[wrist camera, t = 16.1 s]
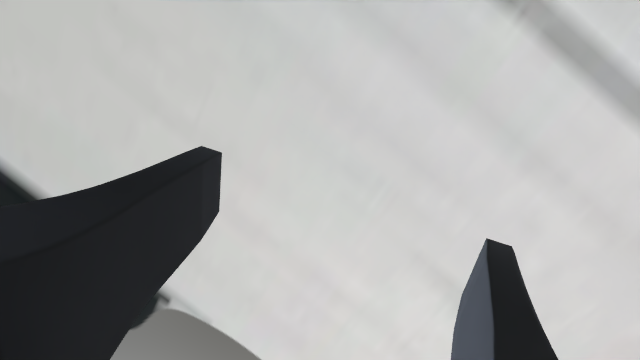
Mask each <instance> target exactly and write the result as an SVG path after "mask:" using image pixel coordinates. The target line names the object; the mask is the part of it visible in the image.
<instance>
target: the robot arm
mask: <svg viewBox="0 0 640 360" xmlns="http://www.w3.org/2000/svg"><path fill="white" fill-rule="evenodd" d="M221 159H222V153H221V152H218V151H215V150H212V149H209V148H206V147H203V146H201V147H198V148H195V149H192V150H190V151H187V152H185V153H182V154H180V155H177V156H175V157H172V158H170V159H168V160H165V161H163V162H160V163H158V164H155V165H153V166H150V167H148V168H145V169H143V170H140V171H138V172H135V173H132V174H130V175H127V176H124V177H121V178H118V179H115V180H113V181H110V182H107V183H104V184H101V185H98V186H95V187H91V188H88V189H84V190H81V191H77V192H73V193H69V194H65V195H61V196H57V197H52V198H47V199H41V200H36V201H31V202H26V203H21V204H14V205H7V206H0V360H110V358H111V357H112V355H113V354H114V352H115V351H116V349H117V347H118V346H119V344H120V343H121V341H122V340H123V338H124V336H125V335H126V334H127V332H128V331H129V329H130V328H131V326H132V325H133V323H134V322H135V320H136V319H137V318H138V316H139V315H140V313H141V312H142V310H143V309H144V307H145V306H146V305H147V304H148V302H149V301H150V300H151V299H152V297H153V296H154V295H155V294H156V292H157V291H158V290H159V289H160V288H161V287H162V285H163V284H164V283H165V282H166V281H167V280H168V278H169V277H170V276H171V275H172V274H173V273H174V271H175V270H176V269H177V268H178V267H179V266H180V264H181V263H182V262H183V261H184V260H185V259H186V257H187V256H188V255H189V254H190V253H191V251H192V250H193V249H194V248H195V247H196V245H197V244H198V243H199V242H200V241H201V239H202V238H203V236H204V235H205V233H206V232H207V230H208V229H209V227H210V225H211V224H212V222H213V220H214V219H215V217H216V216H217V214H218V212H219V202H220V180H221ZM451 360H558V358H557V356H556V354H555V352H554V350H553V349H552V347H551V345H550V343H549V340H548V338H547V336H546V334H545V332H544V330H543V328H542V326H541V324H540V321H539V319H538V317H537V314H536V312H535V310H534V307H533V305H532V302H531V300H530V297H529V295H528V292H527V289H526V287H525V284H524V281H523V278H522V275H521V272H520V269H519V266H518V263H517V260H516V256H515V253H514V250H513V248H512V246H509V245H505V244H502V243H499V242H496V241H493V240H490V239H487V238H486V241H485V243H484V245H483V248H482V250H481V252H480V255H479V257H478V259H477V261H476V264H475V266H474V268H473V271H472V273H471V275H470V278H469V280H468V282H467V284H466V287H465V289H464V291H463V294H462V297H461V301H460V305H459V309H458V314H457V318H456V323H455V327H454V334H453V343H452V353H451Z"/></svg>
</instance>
